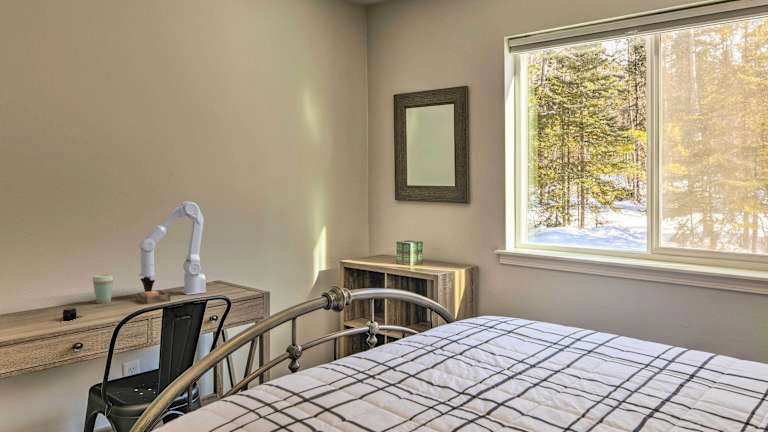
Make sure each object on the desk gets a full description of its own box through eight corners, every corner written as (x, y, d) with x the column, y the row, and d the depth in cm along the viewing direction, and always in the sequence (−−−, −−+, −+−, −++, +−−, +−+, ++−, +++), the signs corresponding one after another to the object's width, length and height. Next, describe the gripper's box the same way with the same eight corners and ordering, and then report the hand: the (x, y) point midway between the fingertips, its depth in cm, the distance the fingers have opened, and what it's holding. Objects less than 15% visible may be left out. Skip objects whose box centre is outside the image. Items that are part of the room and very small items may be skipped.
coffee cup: (117, 300, 270) (117, 274, 269) (107, 304, 262) (106, 277, 261) (100, 299, 271) (99, 273, 270) (88, 304, 262) (88, 277, 261)
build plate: (72, 315, 244) (71, 304, 244) (88, 316, 243) (88, 305, 243) (50, 323, 232) (50, 312, 231) (68, 324, 231) (67, 312, 230)
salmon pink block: (154, 297, 278) (154, 290, 277) (159, 299, 273) (158, 292, 273) (143, 298, 275) (143, 292, 274) (147, 300, 270) (147, 294, 270)
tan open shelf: (162, 296, 278) (161, 290, 278) (170, 300, 270) (170, 294, 270) (137, 299, 272) (137, 293, 271) (145, 304, 263) (145, 297, 263)
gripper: (133, 263, 279) (134, 291, 280) (143, 267, 267) (144, 297, 268) (149, 261, 283) (150, 289, 284) (159, 265, 272) (160, 295, 273)
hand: (148, 293), depth 277 cm, fingers closed
